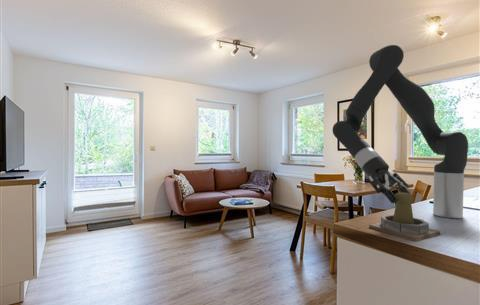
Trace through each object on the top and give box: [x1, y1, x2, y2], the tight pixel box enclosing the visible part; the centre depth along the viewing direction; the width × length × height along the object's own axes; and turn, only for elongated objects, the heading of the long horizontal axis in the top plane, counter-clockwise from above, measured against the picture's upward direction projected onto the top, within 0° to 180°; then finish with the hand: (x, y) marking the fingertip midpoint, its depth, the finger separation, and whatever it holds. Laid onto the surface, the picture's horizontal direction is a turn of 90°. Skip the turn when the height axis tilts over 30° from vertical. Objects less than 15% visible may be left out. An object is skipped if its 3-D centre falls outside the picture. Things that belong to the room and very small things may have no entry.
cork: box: [393, 192, 415, 224], centre depth 82 cm, size 6×6×11 cm
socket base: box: [368, 214, 441, 242], centre depth 82 cm, size 14×14×4 cm
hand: (403, 200), depth 82 cm, fingers open, 8 cm apart
